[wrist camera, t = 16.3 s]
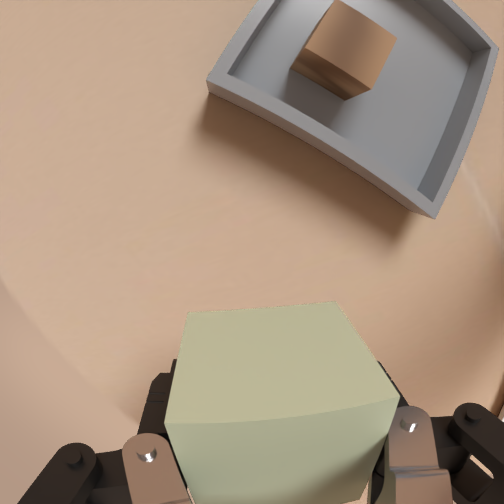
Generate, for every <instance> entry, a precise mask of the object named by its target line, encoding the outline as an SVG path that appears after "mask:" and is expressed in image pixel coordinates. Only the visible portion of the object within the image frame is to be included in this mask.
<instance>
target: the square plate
mask: <svg viewBox="0 0 504 504" xmlns="http://www.w3.org/2000/svg"><path fill="white" fill-rule="evenodd" d="M498 418H499V419H500V420H501V421H503V422H504V405H503V407H502V409H501V412H500V414H499V416H498Z"/></svg>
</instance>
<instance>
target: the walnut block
mask: <svg viewBox="0 0 504 504" xmlns="http://www.w3.org/2000/svg"><path fill="white" fill-rule="evenodd" d="M396 40H397V38H396V37H395V36H394V35H392V34H391V33H390V32H388V31H387V30H385V29H384V28H383V27H381V26H380V25H378V24H377V23H375V22H374V21H372V20H371V19H369V18H368V17H366V16H365V15H363V14H362V13H360V12H359V11H357V10H355V9H354V8H352V7H351V6H349V5H347V4H346V3H344V2H342V1H340V0H334V2H333V3H332V4H331V5H330V7H329V8H328V9H327V11H326V12H325V13H324V15H323V16H322V17H321V19H320V20H319V21H318V23H317V24H316V26H315V27H314V29H313V31H312V32H311V34H310V35H309V37H308V39H307V40H306V42H305V43H304V45H303V47H302V48H301V50H300V52H299V53H298V55H297V57H296V58H295V60H294V62H293V63H292V65H291V67H290V69H292V70H294V71H296V72H297V73H299V74H301V75H303V76H305V77H306V78H308V79H310V80H312V81H313V82H315V83H317V84H318V85H320V86H322V87H323V88H325V89H327V90H328V91H330V92H332V93H333V94H335V95H336V96H338V97H339V98H341V99H343V100H344V101H346V100H348V99H350V98H353V97H355V96H357V95H360V94H362V93H365V92H367V91H369V90H372V88H373V86H374V84H375V82H376V80H377V78H378V76H379V74H380V72H381V70H382V68H383V66H384V64H385V62H386V60H387V58H388V56H389V54H390V52H391V50H392V48H393V46H394V44H395V42H396Z"/></svg>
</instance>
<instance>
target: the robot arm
mask: <svg viewBox="0 0 504 504" xmlns="http://www.w3.org/2000/svg"><path fill="white" fill-rule="evenodd" d="M377 362H378V363H379V365H380V366H381V368H382V369H383V371H384V372H385V374H386V375H387V377H388V378H389V380H390V381H391V378H390V376H389V375H388V373H386V370H385V369H384V367H383V366H382V364H381V363H380V362H379V361H377ZM176 363H177V359H174V360H173V363H172V367H171V371H170V373H160V374H159V375H158V376H157V377H156V378H155V379H154V380H153V381H152V383H151V386H150V390H149V394H148V397H147V400H146V402H147V403H146V404H145V407H144V411H143V415H142V418H141V422H140V426H139V429H138V433H137V435H136V436H134V437H132V438H130V439H129V440H128V441H127V442H126V443H125V444H124V446H123V449H120V450H117V451H111V452H104V453H96V454H95V453H94V451H93V449H92V448H91V447H89V446H88V445H86V444H83V443H71V444H67V445H65V446H63V447H61V448H60V449H59V450H58V451H57V452H56V454H55V455H54V456H53V458H52V459H51V460H50V461H49V463H48V464H47V465H46V467H45V468H44V469H43V470H42V472H41V473H40V474H39V476H38V477H37V478H36V480H35V481H34V482H33V483H32V485H31V486H30V488H29V489H28V490H27V491H26V493H25V494H24V496H23V497H22V498H21V499H20V501H19V502H18V503H17V504H192V501H191V499H190V496H189V494H188V491H187V483H186V481H185V478H184V476H183V473H182V471H181V468H180V466H179V463H178V460H177V458H176V455H175V452H174V450H173V447H172V444H171V441H170V439H169V436H168V433H167V430H166V427H165V424H164V422H165V416H166V411H167V406H168V401H169V396H170V391H171V387H172V382H173V377H174V372H175V368H176ZM391 383H392V384H393V386H394V387H395V389H396V390H397V392H398V393H399V395H400V399H399V402H398V405H397V408H396V411H395V414H394V417H393V420H392V423H391V426H390V429H389V431H388V434H387V437H386V439H385V442H384V445H383V447H382V450H381V452H380V455H379V457H378V460H377V462H376V464H375V467H374V469H373V472H372V474H371V476H370V478H369V484H368V498H367V504H453V500H454V501H455V502H456V503H457V504H504V422H503V421H501V420H500V419H499V418H497V417H496V416H495V415H494V414H492V413H491V412H490V411H488V410H487V409H486V408H484V407H483V406H481V405H479V404H476V403H465V404H462V405H460V406H458V407H457V408H456V410H455V412H454V414H453V416H445V417H429V415H428V414H427V413H426V412H425V411H424V410H422V409H420V408H418V407H414V406H409V405H408V403H407V401H406V400H405V398H404V397H403V395H402V394H401V392H400V391H399V389H398V388H397V386H396V385H395V384H394V382H393V381H391ZM471 455H473V456H474V457H475V458H477V459H478V460H479V461H480V462H481V463H482V464H483V465H484V466H485V467H487V468H488V469H489V470H490V471H491V472H492V474H493V477H494V479H492V478H491V477H490V476H489V475H488V474H486V473H485V472H484V471H483V470H482V469H481V468H480V467H479V466H478V465H476V464H475V463H474V462H473V461H472V460H471V459H470V456H471Z"/></svg>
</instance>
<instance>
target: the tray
mask: <svg viewBox="0 0 504 504" xmlns="http://www.w3.org/2000/svg"><path fill="white" fill-rule="evenodd" d="M340 1H342V2H344V3H346V4H347V5H349V6H351V7H352V8H354V9H355V10H357V11H359V12H360V13H362V14H363V15H365V16H366V17H368V18H369V19H371V20H372V21H374V22H375V23H377V24H378V25H380V26H381V27H383V28H384V29H385V30H387V31H388V32H390V33H391V34H392V35H394V36H395V37H396V38H397V40H396V42H395V44H394V46H393V48H392V50H391V52H390V54H389V56H388V58H387V60H386V62H385V64H384V66H383V68H382V70H381V72H380V74H379V76H378V78H377V80H376V82H375V84H374V86H373V88H372V90H369V91H367V92H365V93H362V94H360V95H357V96H355V97H353V98H350V99H348V100H346V101H344V100H343V99H341V98H339V97H338V96H336V95H335V94H333V93H332V92H330V91H328V90H327V89H325V88H323V87H322V86H320V85H318V84H317V83H315V82H313V81H312V80H310V79H308V78H306V77H305V76H303V75H301V74H299V73H297V72H296V71H294V70H292V69H290V67H291V65H292V63H293V62H294V60H295V58H296V57H297V55H298V53H299V52H300V50H301V48H302V47H303V45H304V43H305V42H306V40H307V39H308V37H309V35H310V34H311V32H312V31H313V29H314V27H315V26H316V24H317V23H318V21H319V20H320V19H321V17H322V16H323V15H324V13H325V12H326V11H327V9H328V8H329V7H330V5H331V4H332V3H333V2H334V0H258V1H257V3H256V4H255V5H254V7H253V8H252V10H251V11H250V12H249V14H248V15H247V17H246V18H245V20H244V21H243V23H242V24H241V25H240V27H239V28H238V30H237V31H236V33H235V34H234V36H233V37H232V39H231V40H230V42H229V43H228V45H227V47H226V48H225V50H224V51H223V53H222V54H221V56H220V58H219V59H218V61H217V62H216V64H215V66H214V67H213V69H212V71H211V72H210V74H209V76H208V77H207V79H206V82H207V86H208V90H209V92H210V93H212V94H214V95H216V96H219V97H221V98H223V99H225V100H227V101H229V102H231V103H233V104H235V105H237V106H239V107H241V108H243V109H245V110H247V111H249V112H251V113H253V114H255V115H257V116H259V117H261V118H263V119H265V120H267V121H269V122H270V123H272V124H274V125H276V126H278V127H280V128H282V129H283V130H285V131H287V132H289V133H291V134H292V135H294V136H296V137H298V138H299V139H301V140H303V141H305V142H306V143H308V144H310V145H311V146H313V147H315V148H316V149H318V150H320V151H322V152H323V153H325V154H326V155H328V156H330V157H331V158H333V159H335V160H336V161H338V162H339V163H341V164H343V165H344V166H346V167H347V168H349V169H350V170H352V171H354V172H355V173H357V174H358V175H360V176H361V177H363V178H364V179H366V180H367V181H369V182H370V183H372V184H373V185H375V186H376V187H378V188H379V189H380V190H382V191H383V192H385V193H386V194H388V195H389V196H390V197H392V198H393V199H395V200H396V201H397V202H399V203H400V204H402V205H403V206H404V207H406V208H407V209H408V210H410V211H412V212H415V213H418V214H421V215H424V216H427V217H429V218H432V219H435V218H436V217H437V215H438V213H439V210H440V208H441V206H442V204H443V202H444V200H445V198H446V196H447V194H448V192H449V190H450V187H451V185H452V183H453V181H454V178H455V176H456V174H457V172H458V169H459V167H460V165H461V162H462V160H463V157H464V155H465V153H466V150H467V148H468V145H469V142H470V140H471V137H472V135H473V132H474V129H475V127H476V124H477V121H478V118H479V115H480V112H481V109H482V106H483V103H484V100H485V97H486V94H487V91H488V88H489V84H490V81H491V77H492V74H493V70H494V66H495V63H496V59H497V55H498V51H499V48H498V47H497V46H496V44H495V43H494V42H493V41H492V40H491V39H490V38H489V37H488V36H487V34H486V33H485V32H484V31H483V30H482V29H481V28H480V27H479V26H478V25H477V24H476V23H475V22H474V21H473V20H472V19H471V18H470V17H469V16H468V15H467V14H466V13H465V12H464V11H463V10H462V9H460V8H459V7H458V6H457V5H456V4H455V3H454V2H453V1H452V0H340Z"/></svg>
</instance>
